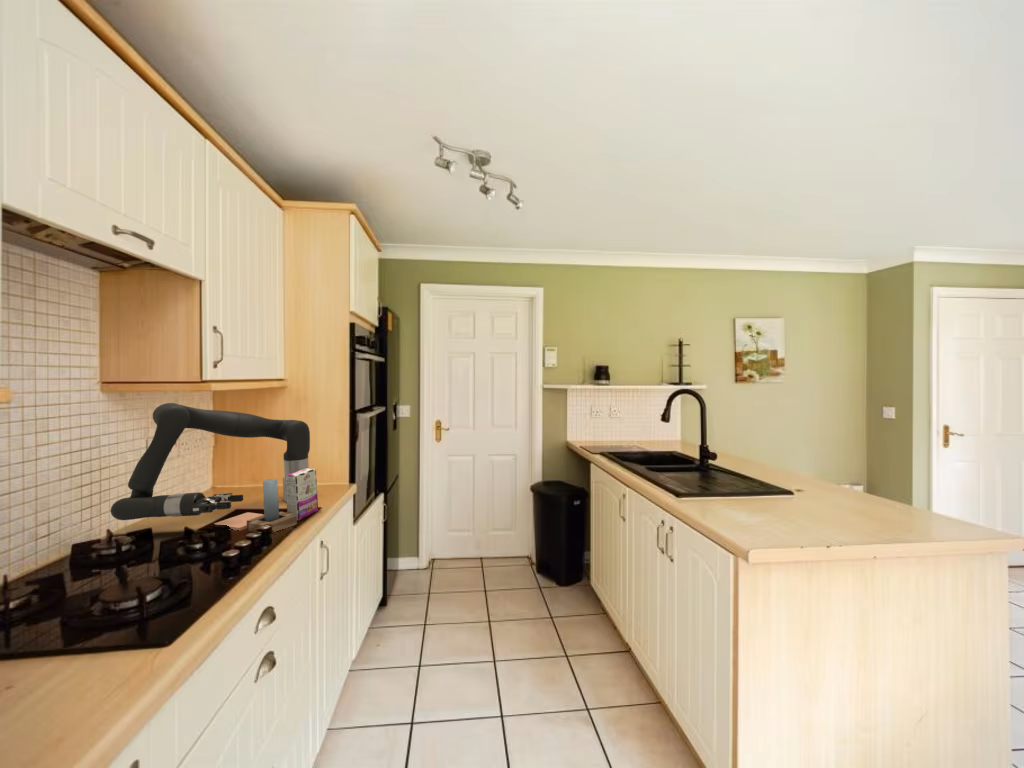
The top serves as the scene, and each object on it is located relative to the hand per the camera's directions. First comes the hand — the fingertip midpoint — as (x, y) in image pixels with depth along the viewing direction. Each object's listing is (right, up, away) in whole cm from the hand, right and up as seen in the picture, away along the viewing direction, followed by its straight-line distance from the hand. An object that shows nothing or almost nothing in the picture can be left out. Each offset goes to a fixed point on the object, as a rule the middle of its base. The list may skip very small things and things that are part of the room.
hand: (236, 501), depth 151 cm
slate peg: (+11, -9, +2) cm, 14 cm away
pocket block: (+11, -9, +2) cm, 14 cm away
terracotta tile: (-2, -9, +7) cm, 12 cm away
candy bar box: (+16, -9, +13) cm, 23 cm away
